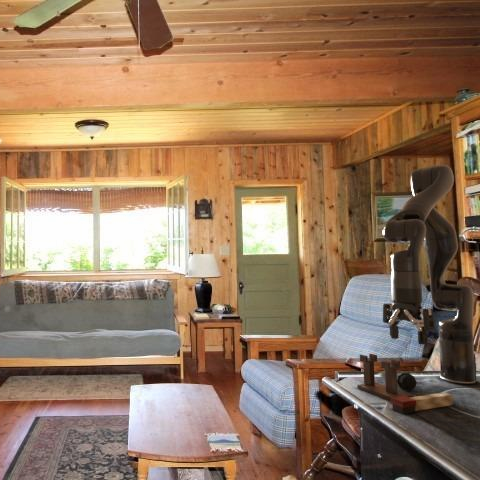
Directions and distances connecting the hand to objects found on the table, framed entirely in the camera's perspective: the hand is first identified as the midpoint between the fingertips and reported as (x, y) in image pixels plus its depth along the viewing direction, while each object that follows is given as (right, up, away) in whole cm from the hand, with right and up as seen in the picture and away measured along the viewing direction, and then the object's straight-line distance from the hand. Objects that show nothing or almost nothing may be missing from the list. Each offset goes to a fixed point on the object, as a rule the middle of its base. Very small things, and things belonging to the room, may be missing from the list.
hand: (408, 341), depth 121 cm
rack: (-1, -19, +9) cm, 21 cm away
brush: (+2, -18, -3) cm, 19 cm away
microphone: (+9, -19, +18) cm, 28 cm away
